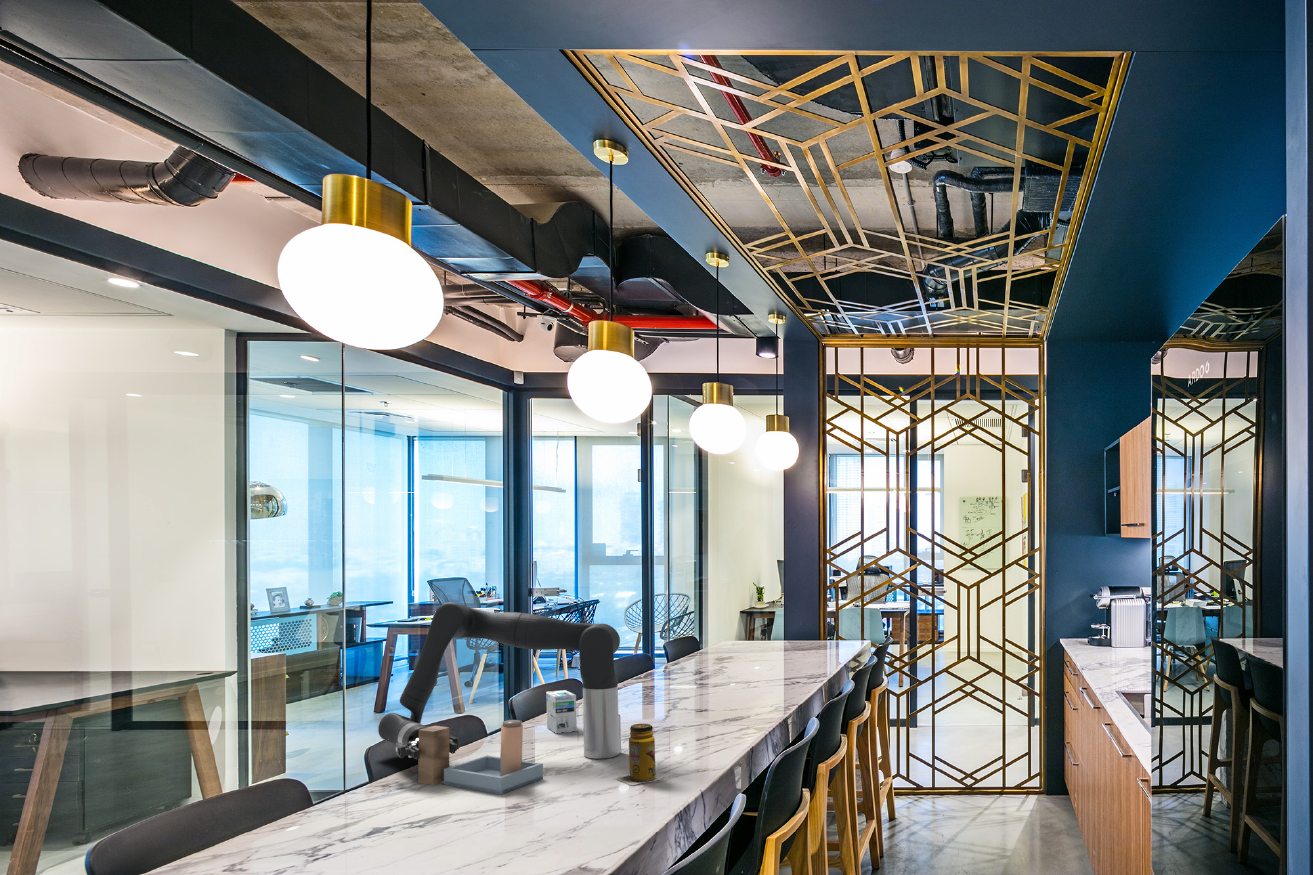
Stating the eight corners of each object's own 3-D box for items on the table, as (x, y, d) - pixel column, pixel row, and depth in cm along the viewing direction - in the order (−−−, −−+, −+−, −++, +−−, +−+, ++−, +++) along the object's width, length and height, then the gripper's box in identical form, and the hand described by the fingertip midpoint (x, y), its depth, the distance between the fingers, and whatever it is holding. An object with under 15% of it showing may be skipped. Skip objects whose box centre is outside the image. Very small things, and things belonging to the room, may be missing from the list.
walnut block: (434, 777, 201) (434, 725, 203) (449, 779, 198) (449, 727, 200) (418, 782, 197) (418, 729, 198) (433, 785, 194) (433, 731, 196)
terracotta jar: (511, 774, 197) (513, 718, 199) (526, 778, 194) (527, 721, 196) (495, 779, 194) (496, 722, 195) (509, 783, 190) (511, 725, 192)
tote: (487, 770, 206) (486, 755, 206) (542, 779, 196) (542, 763, 197) (444, 784, 194) (444, 768, 195) (501, 794, 185) (501, 778, 185)
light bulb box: (577, 731, 247) (576, 694, 249) (555, 734, 245) (554, 696, 246) (567, 725, 257) (566, 689, 258) (545, 727, 254) (545, 691, 256)
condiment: (663, 779, 193) (661, 725, 195) (631, 786, 188) (630, 730, 190) (645, 773, 199) (644, 720, 201) (615, 779, 194) (614, 725, 196)
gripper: (387, 728, 207) (406, 739, 194) (444, 720, 215) (465, 730, 201) (387, 759, 206) (405, 773, 193) (444, 750, 214) (465, 763, 200)
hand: (436, 751), depth 197 cm, fingers open, 8 cm apart
